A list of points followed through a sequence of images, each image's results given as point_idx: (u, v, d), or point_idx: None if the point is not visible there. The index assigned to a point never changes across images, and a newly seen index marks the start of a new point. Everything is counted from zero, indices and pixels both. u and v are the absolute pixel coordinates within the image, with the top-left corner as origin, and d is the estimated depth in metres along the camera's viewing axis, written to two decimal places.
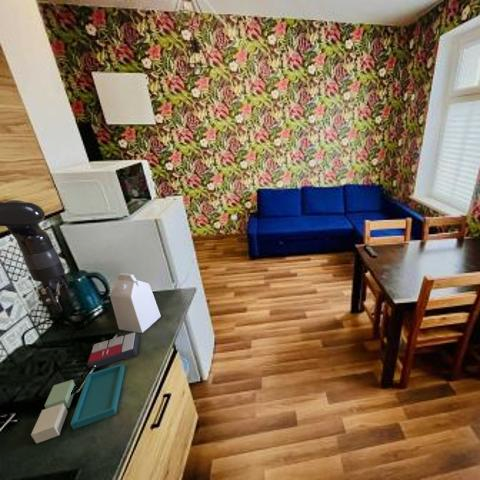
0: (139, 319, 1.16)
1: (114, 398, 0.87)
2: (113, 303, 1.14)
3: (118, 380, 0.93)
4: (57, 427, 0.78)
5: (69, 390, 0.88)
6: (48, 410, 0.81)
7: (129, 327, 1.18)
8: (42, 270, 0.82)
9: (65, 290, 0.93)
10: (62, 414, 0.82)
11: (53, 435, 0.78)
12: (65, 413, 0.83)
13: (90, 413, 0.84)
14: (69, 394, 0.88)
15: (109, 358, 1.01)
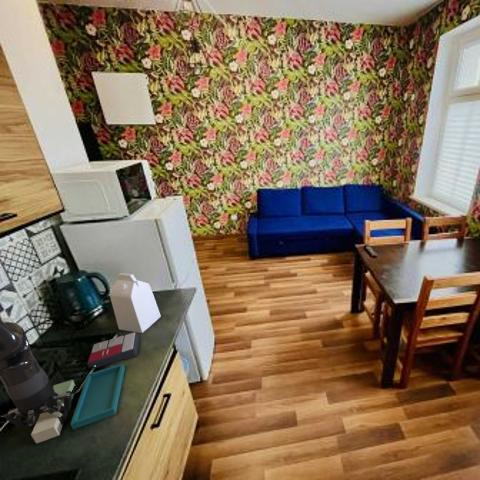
0: (139, 319, 1.16)
1: (114, 398, 0.87)
2: (113, 303, 1.14)
3: (118, 380, 0.93)
4: (57, 427, 0.78)
5: (69, 390, 0.88)
6: None
7: (129, 327, 1.18)
8: (49, 382, 0.76)
9: None
10: None
11: (53, 435, 0.78)
12: None
13: (90, 413, 0.84)
14: None
15: (109, 358, 1.01)
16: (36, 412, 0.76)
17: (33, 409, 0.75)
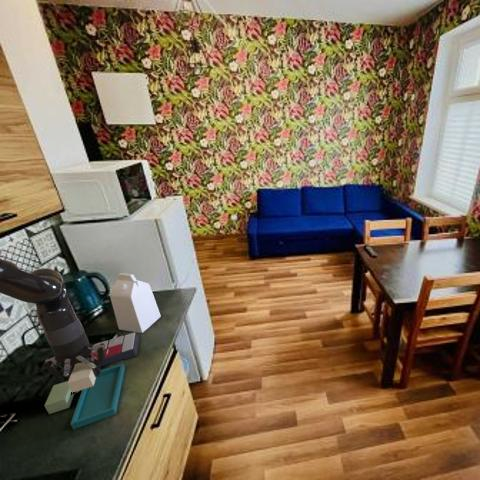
0: (139, 319, 1.16)
1: (114, 398, 0.87)
2: (113, 303, 1.14)
3: (118, 380, 0.93)
4: (92, 378, 0.80)
5: (69, 390, 0.88)
6: (82, 363, 0.82)
7: (129, 327, 1.18)
8: (84, 332, 0.78)
9: None
10: None
11: (88, 386, 0.79)
12: None
13: (90, 413, 0.84)
14: (69, 394, 0.88)
15: (109, 358, 1.01)
16: (72, 362, 0.77)
17: (69, 358, 0.76)
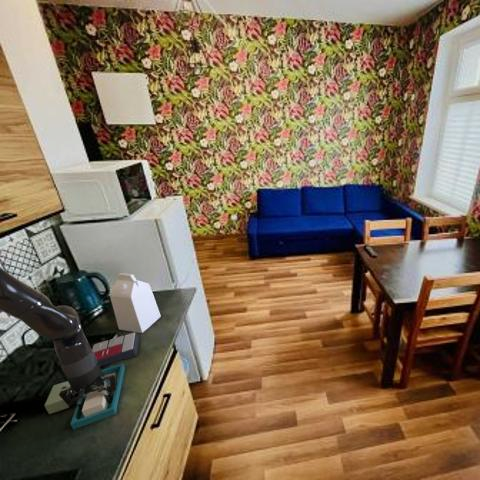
0: (139, 319, 1.16)
1: (114, 398, 0.87)
2: (113, 303, 1.14)
3: (118, 380, 0.93)
4: (104, 405, 0.84)
5: None
6: None
7: (129, 327, 1.18)
8: (97, 363, 0.82)
9: (84, 399, 0.84)
10: None
11: None
12: None
13: None
14: None
15: (109, 358, 1.01)
16: (86, 391, 0.82)
17: (84, 387, 0.81)
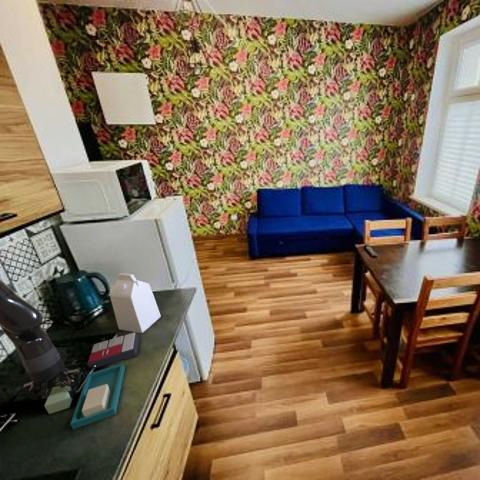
0: (139, 319, 1.16)
1: (114, 398, 0.87)
2: (113, 303, 1.14)
3: (118, 380, 0.93)
4: (104, 405, 0.84)
5: None
6: (94, 390, 0.87)
7: (129, 327, 1.18)
8: (60, 358, 0.84)
9: None
10: (107, 393, 0.88)
11: None
12: (108, 393, 0.89)
13: None
14: None
15: (109, 358, 1.01)
16: (49, 385, 0.84)
17: (46, 382, 0.83)
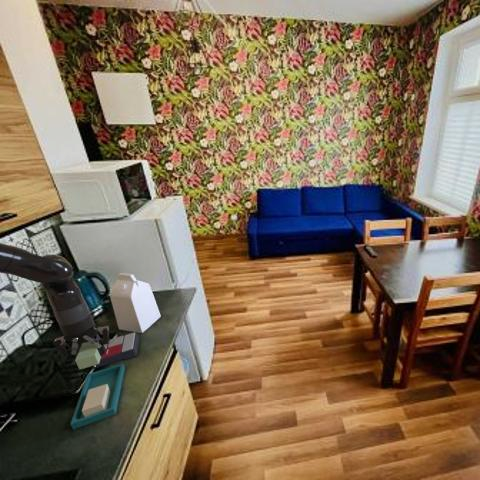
0: (139, 319, 1.16)
1: (114, 398, 0.87)
2: (113, 303, 1.14)
3: (118, 380, 0.93)
4: (104, 405, 0.84)
5: None
6: (94, 390, 0.87)
7: (129, 327, 1.18)
8: (90, 314, 0.84)
9: None
10: (107, 393, 0.88)
11: None
12: (108, 393, 0.89)
13: None
14: None
15: (109, 358, 1.01)
16: (79, 341, 0.84)
17: (77, 337, 0.83)
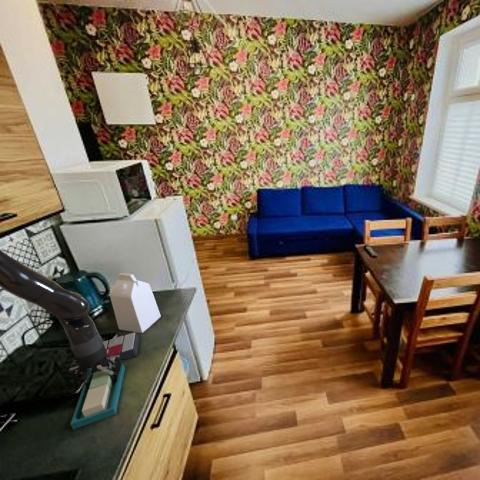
0: (139, 319, 1.16)
1: (114, 398, 0.87)
2: (113, 303, 1.14)
3: (118, 380, 0.93)
4: (104, 405, 0.84)
5: (109, 374, 0.93)
6: (94, 390, 0.87)
7: (129, 327, 1.18)
8: (103, 344, 0.89)
9: (91, 378, 0.91)
10: (107, 393, 0.88)
11: None
12: (108, 393, 0.89)
13: None
14: (110, 378, 0.93)
15: None
16: (92, 370, 0.89)
17: (91, 367, 0.88)
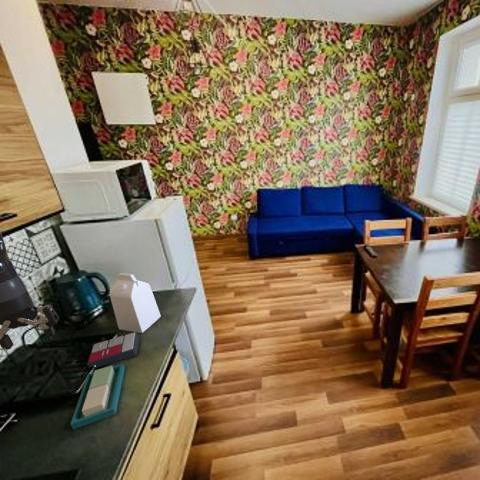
0: (139, 319, 1.16)
1: (114, 398, 0.87)
2: (113, 303, 1.14)
3: (118, 380, 0.93)
4: (104, 405, 0.84)
5: (109, 374, 0.93)
6: (94, 390, 0.87)
7: (129, 327, 1.18)
8: (27, 292, 0.71)
9: (7, 336, 0.72)
10: (107, 393, 0.88)
11: None
12: (108, 393, 0.89)
13: None
14: (110, 378, 0.93)
15: (109, 358, 1.01)
16: (13, 324, 0.71)
17: (10, 320, 0.70)
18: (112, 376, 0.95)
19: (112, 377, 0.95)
